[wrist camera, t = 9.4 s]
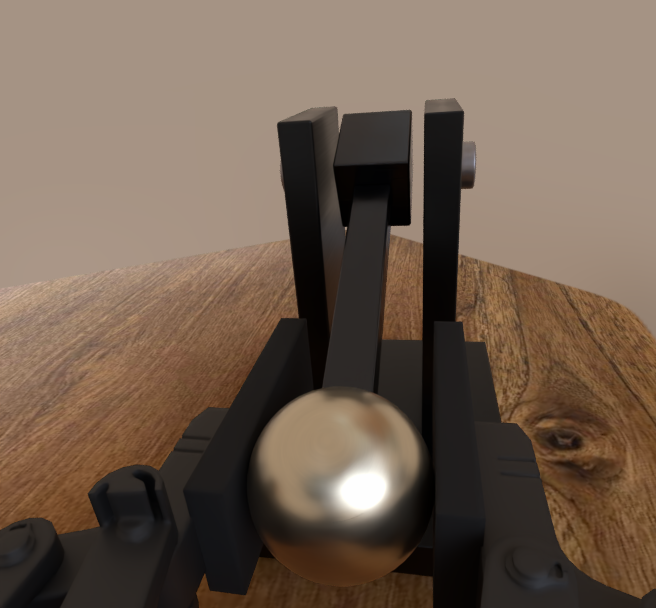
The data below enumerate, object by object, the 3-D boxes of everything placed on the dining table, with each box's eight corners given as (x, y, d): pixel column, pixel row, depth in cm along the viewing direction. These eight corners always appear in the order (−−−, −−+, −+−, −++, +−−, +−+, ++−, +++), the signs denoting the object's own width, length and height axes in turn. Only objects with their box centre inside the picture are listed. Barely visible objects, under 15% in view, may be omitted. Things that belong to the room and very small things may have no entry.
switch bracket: (524, 588, 14) (592, 123, 9) (232, 554, 16) (138, 148, 11) (483, 363, 25) (503, 87, 20) (309, 358, 27) (282, 103, 21)
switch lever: (433, 614, 10) (439, 572, 7) (254, 591, 10) (195, 545, 8) (432, 185, 18) (435, 88, 15) (333, 189, 18) (318, 96, 16)
